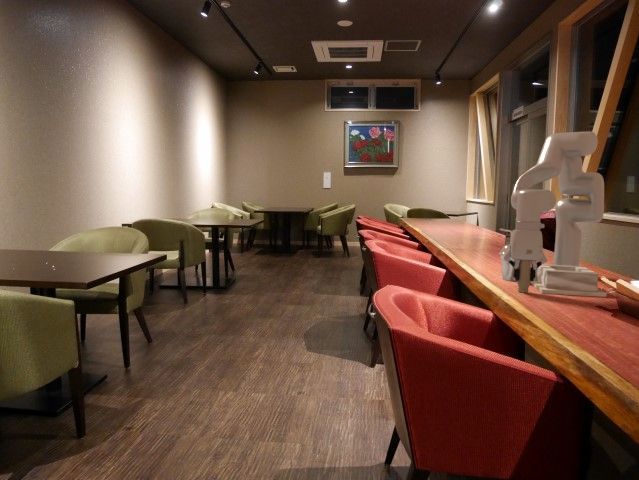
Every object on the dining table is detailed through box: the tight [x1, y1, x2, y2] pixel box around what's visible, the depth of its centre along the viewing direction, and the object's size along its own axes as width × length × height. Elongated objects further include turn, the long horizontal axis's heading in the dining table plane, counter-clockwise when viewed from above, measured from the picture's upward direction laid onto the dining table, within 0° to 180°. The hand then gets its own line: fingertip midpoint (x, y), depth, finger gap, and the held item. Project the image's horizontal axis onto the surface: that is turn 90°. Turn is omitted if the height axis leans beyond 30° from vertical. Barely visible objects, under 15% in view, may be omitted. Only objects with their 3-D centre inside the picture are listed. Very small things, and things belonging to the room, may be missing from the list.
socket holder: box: [530, 263, 607, 298], centre depth 173 cm, size 22×20×7 cm
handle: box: [517, 250, 532, 294], centre depth 165 cm, size 5×6×15 cm
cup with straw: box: [498, 228, 516, 282], centre depth 188 cm, size 8×9×20 cm
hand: (523, 279), depth 166 cm, fingers closed on handle, 4 cm apart
